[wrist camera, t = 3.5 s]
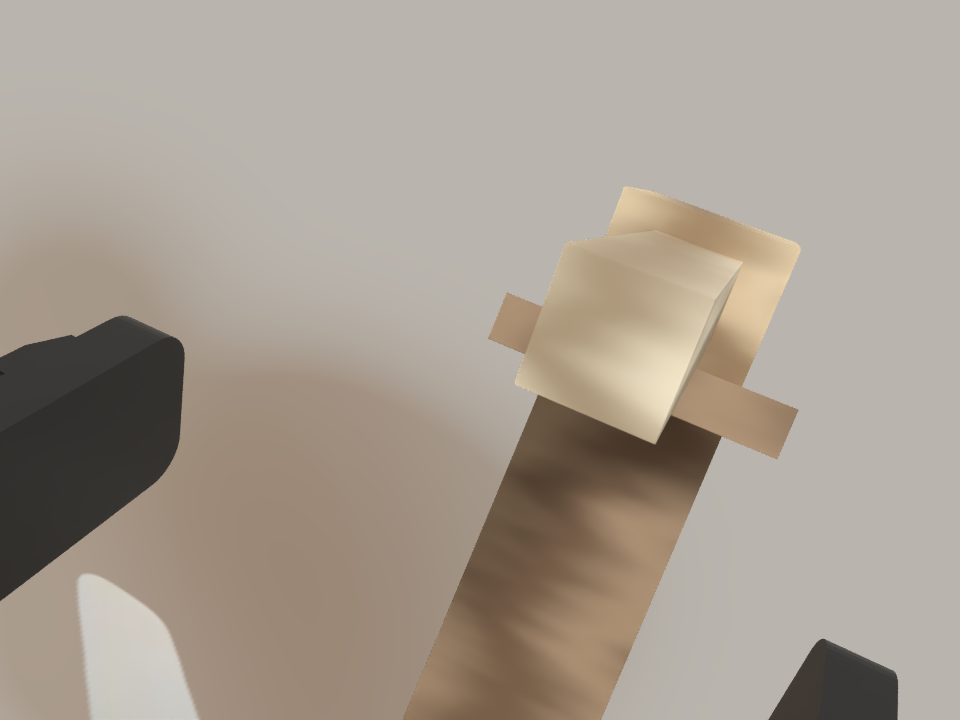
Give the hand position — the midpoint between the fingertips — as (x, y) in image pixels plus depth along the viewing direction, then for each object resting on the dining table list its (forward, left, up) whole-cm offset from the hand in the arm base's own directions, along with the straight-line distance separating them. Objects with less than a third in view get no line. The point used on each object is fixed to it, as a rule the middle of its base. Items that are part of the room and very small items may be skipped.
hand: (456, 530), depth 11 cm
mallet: (0, -18, +3) cm, 18 cm away
